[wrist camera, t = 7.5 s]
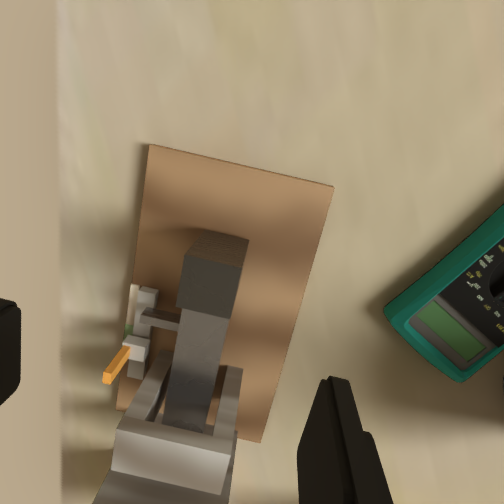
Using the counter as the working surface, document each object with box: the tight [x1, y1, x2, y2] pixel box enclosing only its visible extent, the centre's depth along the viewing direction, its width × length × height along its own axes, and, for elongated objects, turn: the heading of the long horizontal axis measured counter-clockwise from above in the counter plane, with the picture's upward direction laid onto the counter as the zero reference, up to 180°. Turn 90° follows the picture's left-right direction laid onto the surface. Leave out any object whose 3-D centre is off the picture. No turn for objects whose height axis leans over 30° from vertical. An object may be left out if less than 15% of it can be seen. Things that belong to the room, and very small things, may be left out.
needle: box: [102, 335, 150, 384], centre depth 24 cm, size 1×2×4 cm
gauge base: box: [92, 145, 335, 504], centre depth 22 cm, size 21×12×10 cm, turn 167°
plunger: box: [139, 230, 250, 434], centre depth 23 cm, size 13×6×6 cm, turn 167°
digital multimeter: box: [384, 204, 504, 382], centre depth 24 cm, size 7×15×3 cm, turn 139°
